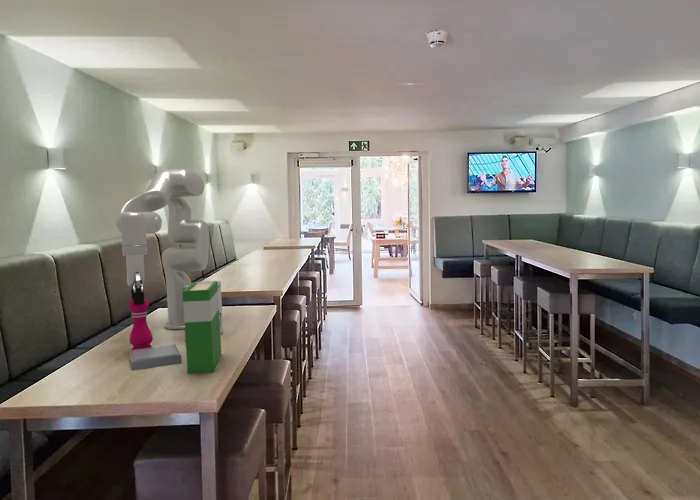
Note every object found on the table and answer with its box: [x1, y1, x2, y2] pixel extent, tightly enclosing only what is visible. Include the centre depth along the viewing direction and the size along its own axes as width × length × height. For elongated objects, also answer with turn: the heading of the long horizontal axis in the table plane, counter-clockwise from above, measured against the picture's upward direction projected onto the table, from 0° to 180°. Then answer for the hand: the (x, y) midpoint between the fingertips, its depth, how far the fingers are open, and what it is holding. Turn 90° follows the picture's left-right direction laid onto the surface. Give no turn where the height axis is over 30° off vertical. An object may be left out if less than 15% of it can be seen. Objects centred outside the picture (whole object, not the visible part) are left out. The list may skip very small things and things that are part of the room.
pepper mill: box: [128, 297, 154, 350], centre depth 180 cm, size 7×7×20 cm
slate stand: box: [129, 344, 183, 371], centre depth 171 cm, size 14×14×3 cm
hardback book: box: [183, 280, 222, 375], centre depth 165 cm, size 18×7×24 cm, turn 6°
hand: (138, 302), depth 179 cm, fingers open, 9 cm apart
